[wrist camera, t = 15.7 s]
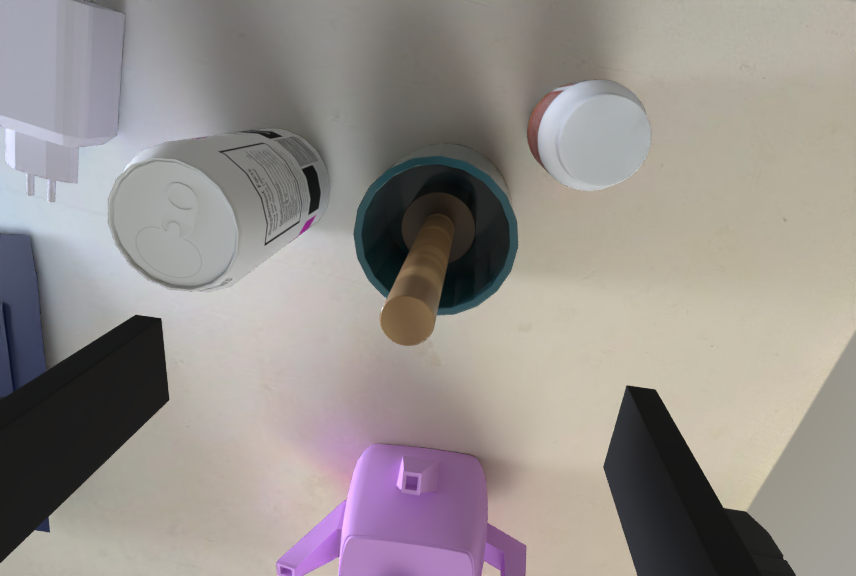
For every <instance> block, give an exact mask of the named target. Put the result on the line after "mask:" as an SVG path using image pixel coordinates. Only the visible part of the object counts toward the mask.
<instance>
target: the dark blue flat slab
mask: <svg viewBox="0 0 856 576" xmlns="http://www.w3.org/2000/svg"><path fill="white" fill-rule="evenodd" d="M40 314H41V312H40V303H39V293H38V284H37V274H36V273H35V268H34V261H33V255H32V249H31V242H30V236H27V235H4V234H0V397H2V396H3V397H6V396H8V395H9V394H11V393H12V392H14V391H15V390H17V389H19V388H20V387H22V386H23V385H25V384H27V383H28V382H30V381H31V380H33V379H35V378H36V377H38V376H39V375H41V374H42V373H44V372H46V364H45V355H44V347H43V338H42V329H41V321H40ZM35 530H37V531H44V532H50V528H49V518H47V519H46V520H45V521H43V522H42V523H41V524H40V525H39V526H38V527H37V528H36V529H35Z"/></svg>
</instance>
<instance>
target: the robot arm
mask: <svg viewBox="0 0 856 576" xmlns="http://www.w3.org/2000/svg"><path fill="white" fill-rule="evenodd" d="M168 401H169V392H168V382H167V372H166V361H165V351H164V341H163V331H162V321H161V318H155V317H148V316H141V315H135V316H133V317H131V318H130V319H128V320H127V321H125V322H123V323H122V324H120V325H119V326H117V327H115V328H114V329H112V330H111V331H109V332H108V333H106V334H104V335H103V336H101V337H100V338H98V339H96V340H95V341H93V342H92V343H90V344H89V345H87V346H85V347H84V348H82V349H81V350H79V351H77V352H76V353H74V354H73V355H71V356H69V357H68V358H66V359H65V360H63V361H62V362H60V363H58V364H57V365H55V366H54V367H52V368H50V369H49V370H47V371H46V372H44V373H42V374H41V375H39V376H38V377H36V378H35V379H33V380H31V381H30V382H28V383H27V384H25V385H23V386H22V387H20V388H19V389H17V390H15V391H14V392H12V393H11V394H9V395H8V396H6V397H3V396H2V397H0V563H1V562H2V561H3V560H4V559H5V558H6V557H7V556H8V555H9V554H10V553H11V552H12V551H13V550H14V549H16V548H17V547H18V546H19V545H20V544H21V543H22V542H23V541H24V540H25V539H26V538H27V537H28V536H29V535H30V534H31V533H32V532H33V531H34V530H35V529H36V528H37V527H38V526H39V525H40V524H41V523H42V522H43V521H45V520H46V519H47V518H48V517H49V516H50V515H51V514H52V513H53V512H54V511H55V510H56V509H57V508H58V507H59V506H60V505H61V504H62V503H63V502H64V501H65V500H66V499H67V498H68V497H69V496H70V495H71V494H72V493H74V492H75V491H76V490H77V489H78V488H79V487H80V486H81V485H82V484H83V483H84V482H85V481H86V480H87V479H88V478H89V477H90V476H91V475H92V474H93V473H94V472H95V471H96V470H97V469H98V468H99V467H100V466H101V465H102V464H104V463H105V462H106V461H107V460H108V459H109V458H110V457H111V456H112V455H113V454H114V453H115V452H116V451H117V450H118V449H119V448H120V447H121V446H122V445H123V444H124V443H125V442H126V441H127V440H128V439H129V438H130V437H131V436H133V435H134V434H135V433H136V432H137V431H138V430H139V429H140V428H141V427H142V426H143V425H144V424H145V423H146V422H147V421H148V420H149V419H150V418H151V417H152V416H153V415H154V414H155V413H156V412H157V411H158V410H159V409H160V408H162V407H163V406H164V405H165V404H166V403H167V402H168ZM603 467H604V471H605V474H606V477H607V480H608V483H609V486H610V490H611V493H612V496H613V499H614V502H615V506H616V509H617V512H618V515H619V518H620V521H621V525H622V528H623V531H624V534H625V537H626V540H627V544H628V547H629V550H630V553H631V556H632V560H633V563H634V566H635V569H636V572H637V575H638V576H796V575H795V573H794V571H793V570H792V568H791V567H790V565H789V564H788V562H787V561H786V560H784V559H783V554H782V553H781V551H780V550H779V548H778V547H777V545H776V544H775V542H774V540H773V539H772V537H771V536H770V534H769V533H768V532H767V531H766V530H765V529H764V528H763V527H762V526H761V525H760V524H759V523H758V522H757V521H755V520H754V519H753V518H752V517H751V516H750V515H749V514H748V513H747V512H745V511H739V510H733V509H726V508H723V506H722V504H721V503H720V501H719V499H718V498H717V496H716V494H715V492H714V491H713V489H712V487H711V485H710V484H709V482H708V480H707V478H706V477H705V475H704V473H703V471H702V470H701V468H700V466H699V464H698V463H697V461H696V459H695V457H694V456H693V454H692V452H691V450H690V449H689V447H688V445H687V444H686V442H685V440H684V438H683V437H682V435H681V433H680V431H679V430H678V428H677V426H676V424H675V423H674V421H673V419H672V417H671V416H670V414H669V412H668V410H667V409H666V407H665V405H664V403H663V402H662V400H661V398H660V396H659V395H658V393H657V391H656V390H655V389H648V388H641V387H634V386H626V390H625V393H624V397H623V400H622V403H621V407H620V410H619V414H618V417H617V421H616V424H615V428H614V431H613V435H612V438H611V442H610V445H609V449H608V452H607V456H606V459H605V463H604V466H603Z"/></svg>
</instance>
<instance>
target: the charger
mask: <svg viewBox="0 0 856 576" xmlns="http://www.w3.org/2000/svg"><path fill="white" fill-rule="evenodd" d="M124 22H125V14H124V13H121V12H118V11H115V10H112V9H109V8H106V7H103V6H100V5H97V4H94V3H91V2H88V1H85V0H0V126H2V127H5V131H6V163H7V164H8V165H10V166H11V167H13V168H14V169H16V170H19V171H22V172H25V173H27V195H29V196H33V195H34V175H35V176H38V177H41V178H44V179H48V201H49V202H55V187H56V181H60V182H66V183H78V157H79V147H85V146H93V145H102V144H105V143H106V142H108V141H109V140H111V139H112V138H114V137H116V136H117V132H118V116H119V100H120V85H121V69H122V54H123V38H124Z"/></svg>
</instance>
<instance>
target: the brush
mask: <svg viewBox="0 0 856 576" xmlns="http://www.w3.org/2000/svg"><path fill="white" fill-rule="evenodd" d="M475 230H476V206H475V203H474V200H473V198H472V196H471V195H470V193H469V192H468V191H467V190H466V189H465V188H464V187H462V186H461V185H459V184H457V183H454V182H451V181H436V182H432V183H430V184H428V185H426V186H425V187H423V188H422V189H421V190H420V191H419V192H418V193H417V195H416V196H415V197H414V199H413V200H412V202H411V203H410V205H409V206H408V208H407V209H406V211H405V213H404V215H403V219H402V224H401V231H402V237H403V240H404V243H405V245H406V246H407V248H408V249H409V253H408V255H407V258H406V260H405V262H404V264H403V266H402V268H401V270H400V272H399V274H398V276H397V278H396V281H395V283H394V285H393V287H392V289H391V291H390V293H389V295H388V297H387V299H386V301H385V304H384V306H383V308H382V310H381V313H380V325H381V328H382V330H383V332H384V333H385V335H386V336H387V337H388V338H389V339H390V340H392V341H393V342H395V343H397V344H400V345H405V346H412V345H417V344H420V343H422V342H424V341H425V340H426V339H427V338H428V337H429V336H430V335H431V334H432V332H433V329H434V325H435V321H436V316H437V311H438V306H439V302H440V297H441V292H442V288H443V283H444V278H445V274H446V269H447V264H449V263H452V262H454V261H456V260H458V259H460V258H461V257H462V256H464V255H465V254H466V253H467V252H468V250H469V249H470V247H471V245H472V243H473V241H474V237H475Z"/></svg>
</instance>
